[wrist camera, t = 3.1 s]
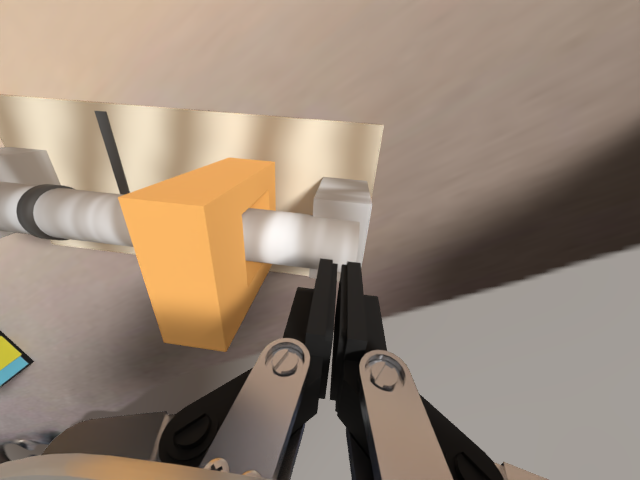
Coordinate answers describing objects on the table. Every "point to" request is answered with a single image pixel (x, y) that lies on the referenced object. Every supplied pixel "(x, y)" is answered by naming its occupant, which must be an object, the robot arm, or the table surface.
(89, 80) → the table surface
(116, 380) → the table surface
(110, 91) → the table surface
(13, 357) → the carton
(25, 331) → the table surface
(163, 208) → the collar
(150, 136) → the pipe rig
